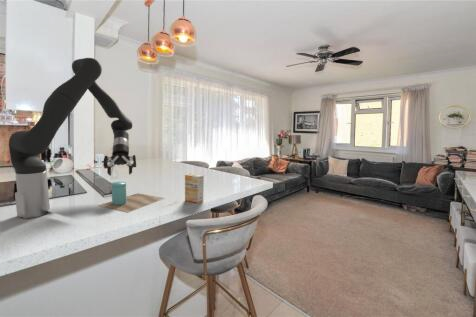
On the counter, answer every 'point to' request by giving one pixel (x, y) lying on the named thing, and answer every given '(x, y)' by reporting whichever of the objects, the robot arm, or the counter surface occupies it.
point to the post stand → (133, 202)
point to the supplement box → (194, 187)
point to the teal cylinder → (118, 193)
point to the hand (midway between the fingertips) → (120, 174)
